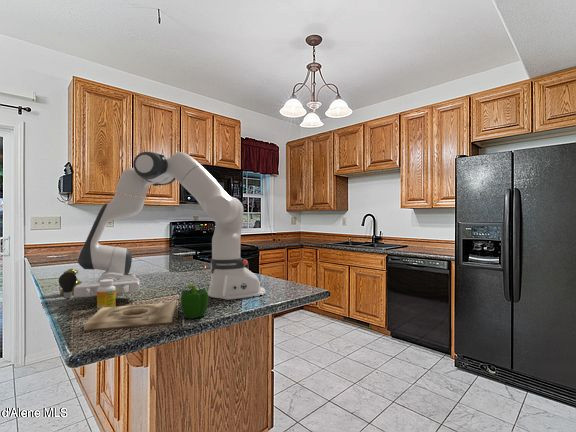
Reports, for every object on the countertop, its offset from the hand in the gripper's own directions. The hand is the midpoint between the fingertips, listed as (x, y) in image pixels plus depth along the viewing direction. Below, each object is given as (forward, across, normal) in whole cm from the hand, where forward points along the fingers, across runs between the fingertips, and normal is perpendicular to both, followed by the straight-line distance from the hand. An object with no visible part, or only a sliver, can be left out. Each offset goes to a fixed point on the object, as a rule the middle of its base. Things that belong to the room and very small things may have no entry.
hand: (106, 292), depth 105 cm
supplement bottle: (+1, 0, +6) cm, 6 cm away
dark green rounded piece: (-31, -15, +6) cm, 35 cm away
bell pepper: (+22, +25, +6) cm, 33 cm away
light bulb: (-22, -14, +6) cm, 27 cm away
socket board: (+16, +8, +6) cm, 19 cm away
